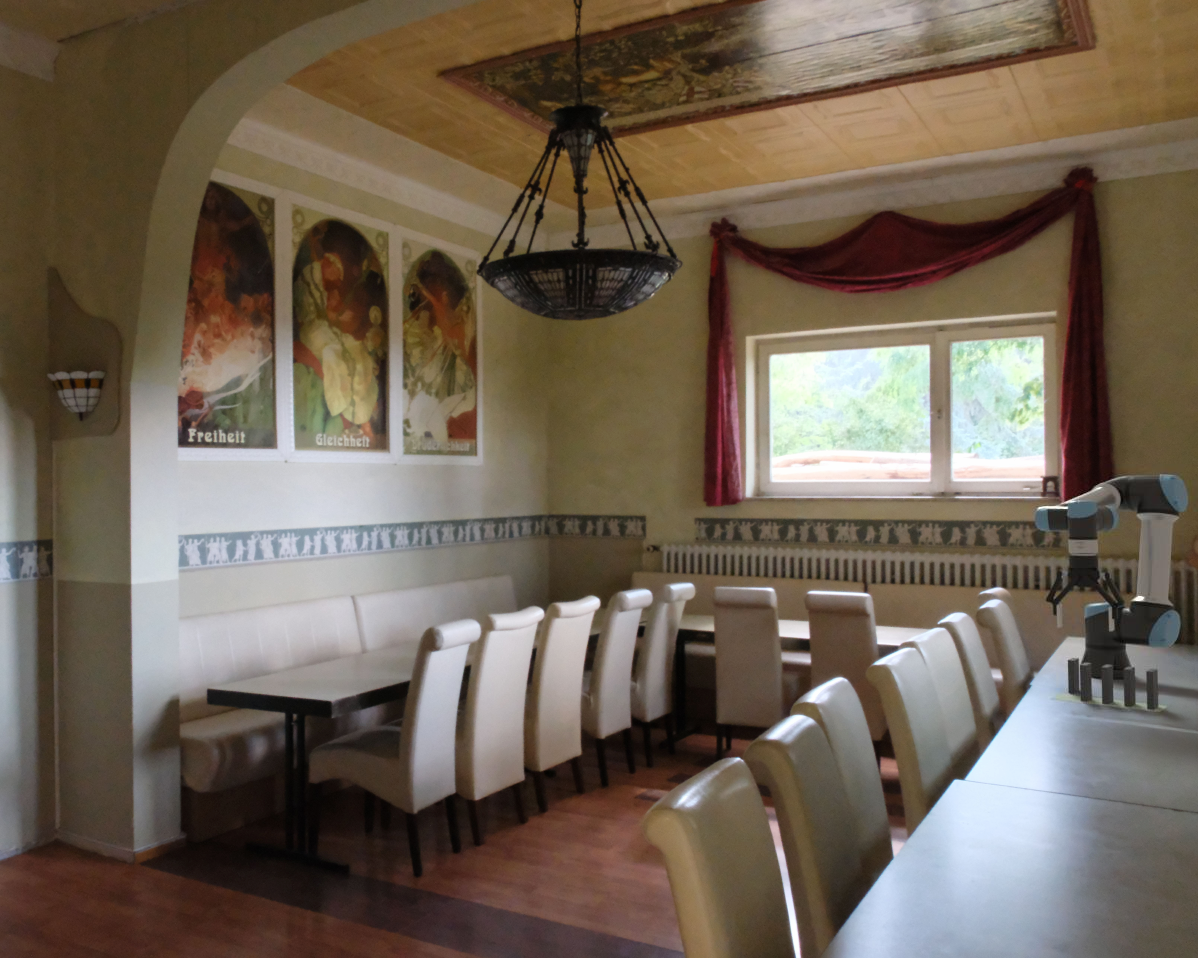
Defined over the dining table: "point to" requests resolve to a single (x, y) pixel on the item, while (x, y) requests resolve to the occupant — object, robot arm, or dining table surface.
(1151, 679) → the domino
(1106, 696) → the domino
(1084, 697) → the domino
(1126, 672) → the domino
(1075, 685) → the domino
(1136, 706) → the strip
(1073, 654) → the dining table surface
